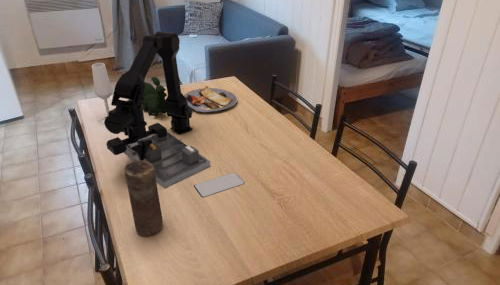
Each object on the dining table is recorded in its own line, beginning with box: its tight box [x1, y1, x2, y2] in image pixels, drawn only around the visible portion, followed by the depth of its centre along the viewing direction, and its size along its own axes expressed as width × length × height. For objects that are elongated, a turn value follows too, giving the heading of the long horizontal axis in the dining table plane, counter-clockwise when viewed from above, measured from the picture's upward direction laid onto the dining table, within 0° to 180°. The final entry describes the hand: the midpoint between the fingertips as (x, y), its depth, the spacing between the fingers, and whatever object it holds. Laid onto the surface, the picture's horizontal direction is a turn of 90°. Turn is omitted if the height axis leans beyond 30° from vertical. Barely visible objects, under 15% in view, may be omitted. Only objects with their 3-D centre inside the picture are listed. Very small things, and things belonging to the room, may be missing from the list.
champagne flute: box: [91, 62, 114, 125], centre depth 146 cm, size 7×7×24 cm
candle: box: [123, 161, 164, 237], centre depth 95 cm, size 8×7×20 cm
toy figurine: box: [142, 76, 168, 117], centre depth 157 cm, size 9×19×25 cm
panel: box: [123, 131, 211, 189], centre depth 128 cm, size 18×28×3 cm, turn 43°
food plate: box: [183, 86, 238, 113], centre depth 168 cm, size 25×23×4 cm
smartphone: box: [193, 172, 245, 198], centre depth 117 cm, size 7×1×15 cm
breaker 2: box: [182, 145, 200, 166], centre depth 123 cm, size 4×4×5 cm
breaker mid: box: [145, 143, 162, 163], centre depth 124 cm, size 4×4×5 cm
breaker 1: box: [152, 134, 167, 142], centre depth 135 cm, size 4×4×5 cm
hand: (141, 159), depth 122 cm, fingers closed
